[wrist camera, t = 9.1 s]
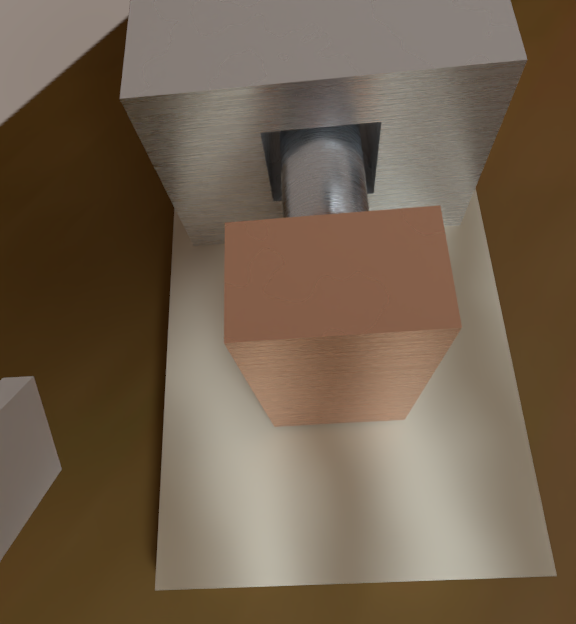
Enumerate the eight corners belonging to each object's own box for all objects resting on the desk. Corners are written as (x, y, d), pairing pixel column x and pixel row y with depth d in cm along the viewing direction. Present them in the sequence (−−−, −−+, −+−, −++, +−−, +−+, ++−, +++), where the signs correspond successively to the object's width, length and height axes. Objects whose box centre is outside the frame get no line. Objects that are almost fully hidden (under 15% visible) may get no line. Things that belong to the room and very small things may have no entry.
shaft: (362, 74, 27) (375, -163, 18) (404, 419, 20) (462, 327, 11) (264, 84, 27) (227, -144, 18) (274, 426, 21) (223, 343, 11)
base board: (446, 89, 28) (451, 71, 27) (543, 573, 19) (556, 576, 18) (186, 113, 29) (180, 97, 28) (165, 586, 20) (155, 590, 19)
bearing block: (433, 88, 27) (478, -113, 18) (459, 225, 24) (527, 59, 15) (198, 110, 27) (137, -73, 19) (193, 246, 24) (119, 98, 16)
